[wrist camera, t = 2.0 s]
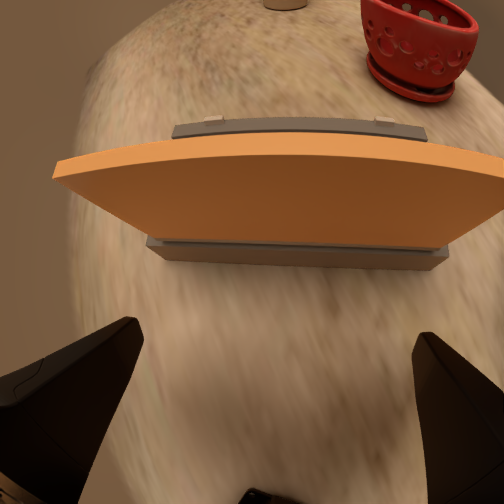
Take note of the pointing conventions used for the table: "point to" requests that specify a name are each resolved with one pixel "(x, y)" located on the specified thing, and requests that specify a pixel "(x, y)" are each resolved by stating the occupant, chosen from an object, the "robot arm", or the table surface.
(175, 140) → the cover
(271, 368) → the table surface
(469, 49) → the plant pot
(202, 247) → the grey rectangular tray
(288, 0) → the travel mug
